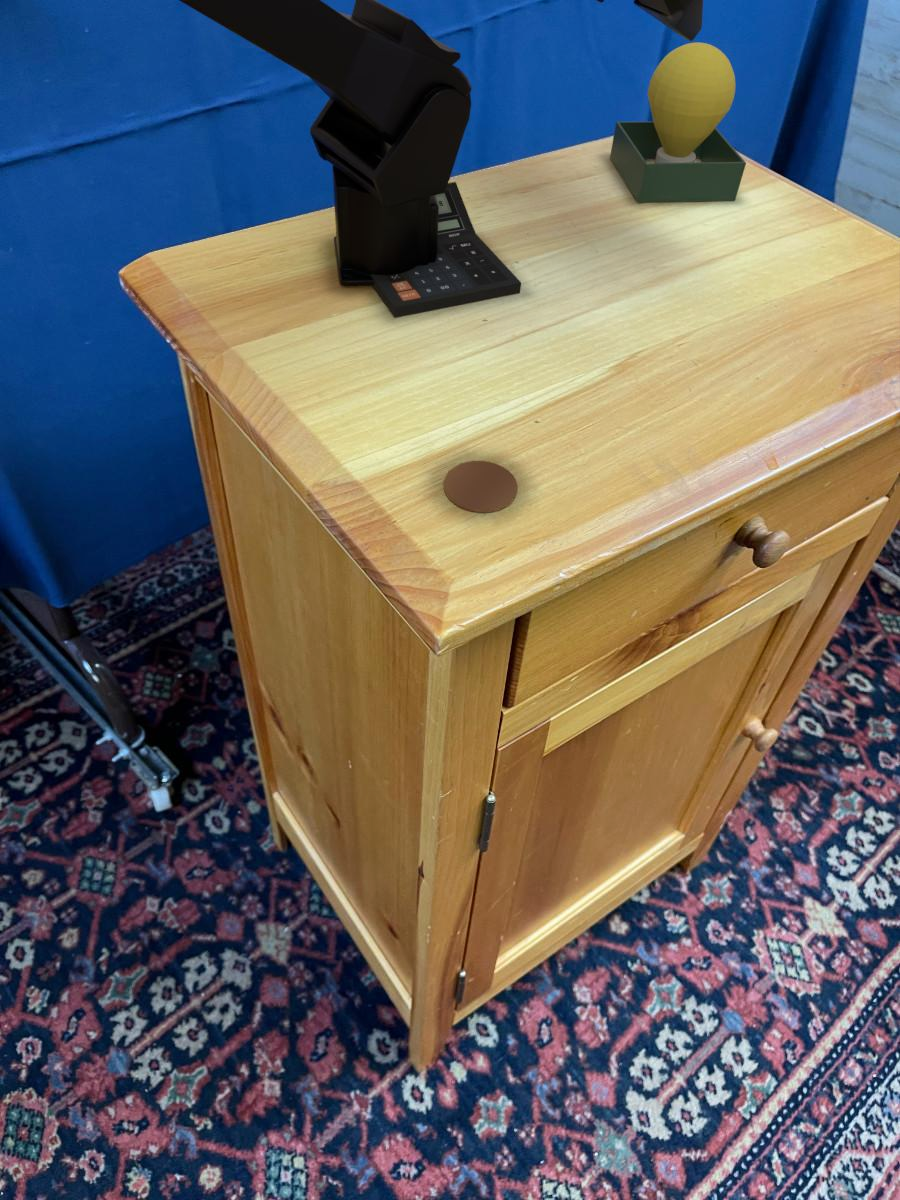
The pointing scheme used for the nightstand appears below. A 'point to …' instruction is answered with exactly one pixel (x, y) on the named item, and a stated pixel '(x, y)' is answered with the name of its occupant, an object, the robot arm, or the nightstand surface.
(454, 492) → the coaster
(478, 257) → the calculator
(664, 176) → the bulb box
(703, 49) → the light bulb
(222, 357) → the nightstand surface
